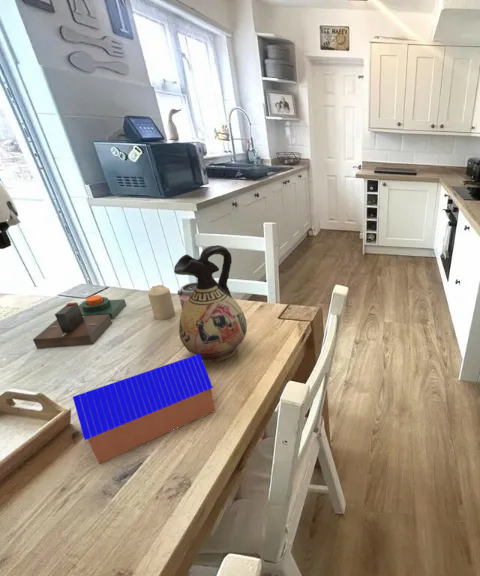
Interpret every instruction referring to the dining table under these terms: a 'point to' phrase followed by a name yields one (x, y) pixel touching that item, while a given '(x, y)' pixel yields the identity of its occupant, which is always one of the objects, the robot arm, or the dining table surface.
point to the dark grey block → (69, 317)
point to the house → (144, 406)
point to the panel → (73, 333)
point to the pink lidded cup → (186, 293)
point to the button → (94, 300)
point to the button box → (103, 308)
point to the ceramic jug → (210, 309)
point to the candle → (161, 302)
